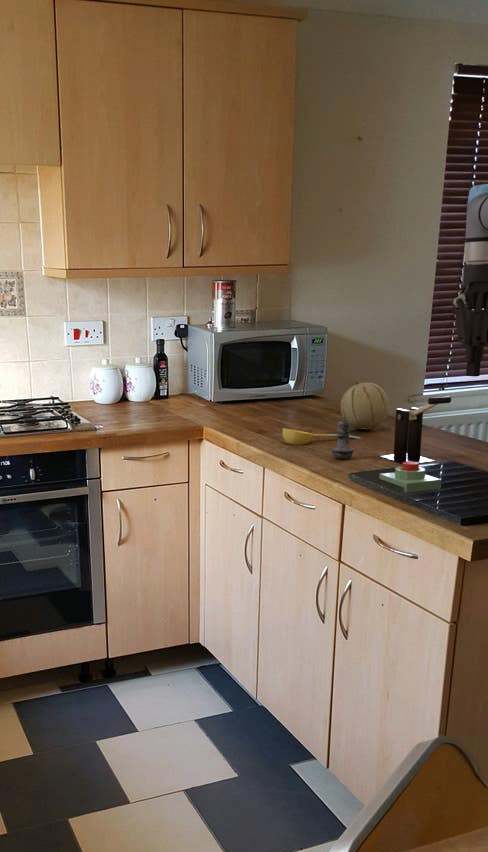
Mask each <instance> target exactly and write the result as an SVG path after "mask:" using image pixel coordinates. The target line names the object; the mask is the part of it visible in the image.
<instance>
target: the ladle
mask: <svg viewBox="0 0 488 852" xmlns="http://www.w3.org/2000/svg"><path fill="white" fill-rule="evenodd" d="M336 434H337V433H336ZM336 434H335V433H330V434H329V433H327V434H326V433H325V434H324V433H321V434H320V433H315V434H314V433H311V432H306V431H301V430H297V429H291V428H290V429H289V428H284V427H283V428H282V437H283V440H284V441H285V442H286V443H287V444H288V445H290V446H291V445H292V446H302V445H303V446H304V445H307V444H309V443H310V442H311V440H312V438H313V437H337V435H336ZM349 439H354V440H359V439H361V437H359V436H355V435H350V436H349Z"/></svg>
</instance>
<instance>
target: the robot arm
mask: <svg viewBox="0 0 488 852" xmlns="http://www.w3.org/2000/svg"><path fill="white" fill-rule="evenodd" d="M464 241H465V242H464V250H463V251H464V253H463V262H464V263H466V264H465V265H463V267H462V277H461V279H462V280H461V282H462V285H463V286H462V289H461V291H460V295H458V296H457V297H454V298H451V300H450V304H451V305H452V308H453V310H454V318H455V326H456V333H457V341H458V343H459V344H462V345H463V346H465V353H464V360H465V362H466V367H465V370H466V371H465V376H466V377H474V378H475V377H480V375H481V374H480V373H481V361H483V360H484V355H485V354H484V353H485V346H486V347H487V346H488V183H484V184H476V185H474V186H472V187H471V188H470V189H469V193H468V199H467V203H466V223H465V239H464Z"/></svg>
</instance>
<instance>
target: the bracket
mask: <svg viewBox="0 0 488 852" xmlns="http://www.w3.org/2000/svg"><path fill="white" fill-rule="evenodd" d="M417 409H419V408H418V407H409V409H403V408H396V409H395V424H394V441H393V442H394V443H393V454H386V455H378V458H380V459H385V460H387V461H390V462H394V463H397V464H401V465H402V464H403V462H407V461H412V462H418V463H419V465H420V464H428V463H436V462H437V461H436V460H434V459H430V458H427V457H424V456H421V448H422V433H423V421H424V412H422V413H420V414H418V415H416V417H417V419H416V420H414V421H412V422H409V412H410V411H408V410H417Z"/></svg>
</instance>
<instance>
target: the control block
mask: <svg viewBox="0 0 488 852" xmlns="http://www.w3.org/2000/svg"><path fill="white" fill-rule="evenodd" d="M378 476H379V477H378V478H379V480H381V481H378V483H379V482H380V483H383V484H385V485H384V486H386V485H387V486H386V487H389V486H390V487H389V488H392V489H395V490H397V491H400V492H403V493H406V494H407V493H408V494H409V493H416V492H424V491H433V490H434V491H435V490H441V488H442V479H441V478H438V477H434V476H431V475H428V474H426V468H425V467H422V466H419V470H417V471H406V470H402V466H397V467H395V469H394V472H385V473H379V475H378ZM382 481H384V482H382ZM386 482H387V483H386ZM380 483H379V484H380ZM388 483H390V484H388ZM383 484H382V485H383ZM391 484H392V485H391ZM394 485H396V486H398V487H396V486H394Z"/></svg>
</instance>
